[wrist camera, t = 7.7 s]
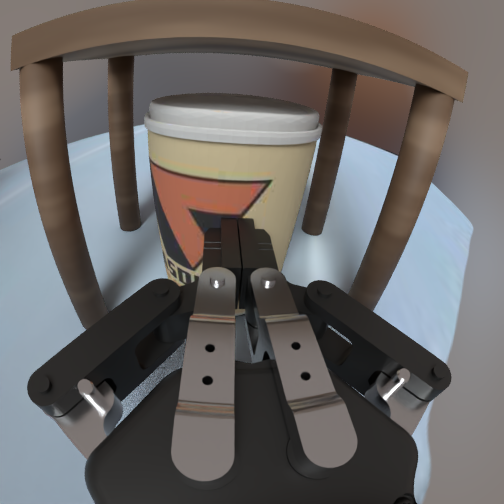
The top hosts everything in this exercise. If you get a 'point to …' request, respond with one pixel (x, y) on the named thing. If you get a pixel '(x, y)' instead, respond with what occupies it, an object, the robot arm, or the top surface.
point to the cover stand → (228, 42)
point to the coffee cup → (226, 170)
